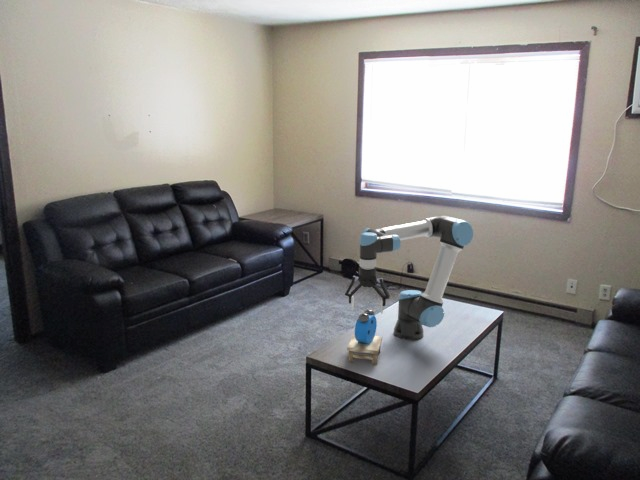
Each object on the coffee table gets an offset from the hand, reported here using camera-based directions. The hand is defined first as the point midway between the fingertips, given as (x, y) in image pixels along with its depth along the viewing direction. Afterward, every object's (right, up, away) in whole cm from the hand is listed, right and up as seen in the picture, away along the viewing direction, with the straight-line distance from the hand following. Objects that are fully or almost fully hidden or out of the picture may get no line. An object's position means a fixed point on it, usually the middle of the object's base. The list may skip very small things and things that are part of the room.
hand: (366, 311), depth 246 cm
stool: (-1, -22, +5) cm, 23 cm away
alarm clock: (0, -15, +3) cm, 15 cm away
